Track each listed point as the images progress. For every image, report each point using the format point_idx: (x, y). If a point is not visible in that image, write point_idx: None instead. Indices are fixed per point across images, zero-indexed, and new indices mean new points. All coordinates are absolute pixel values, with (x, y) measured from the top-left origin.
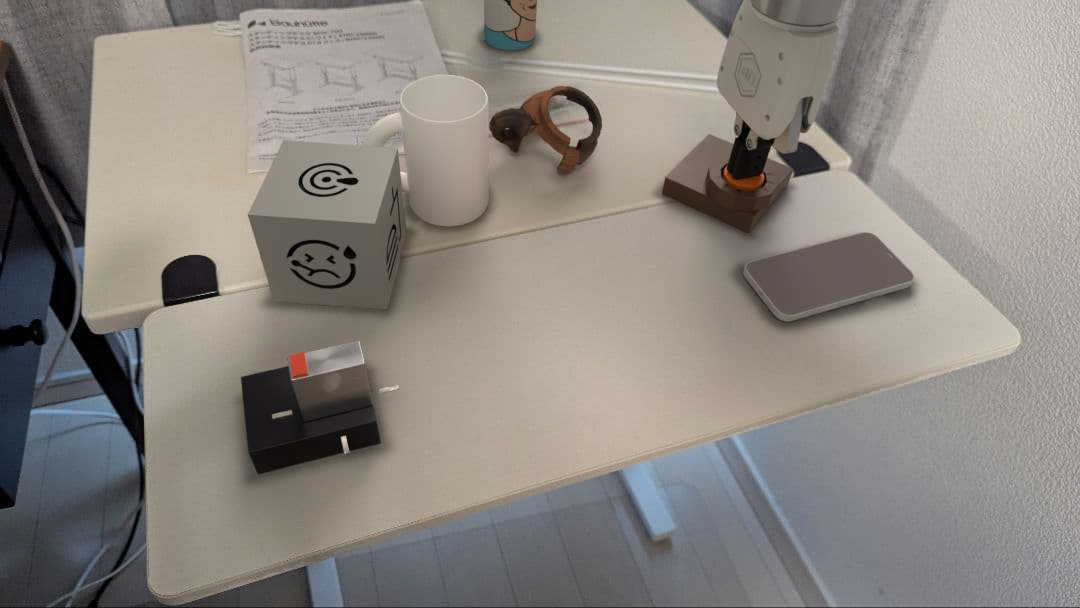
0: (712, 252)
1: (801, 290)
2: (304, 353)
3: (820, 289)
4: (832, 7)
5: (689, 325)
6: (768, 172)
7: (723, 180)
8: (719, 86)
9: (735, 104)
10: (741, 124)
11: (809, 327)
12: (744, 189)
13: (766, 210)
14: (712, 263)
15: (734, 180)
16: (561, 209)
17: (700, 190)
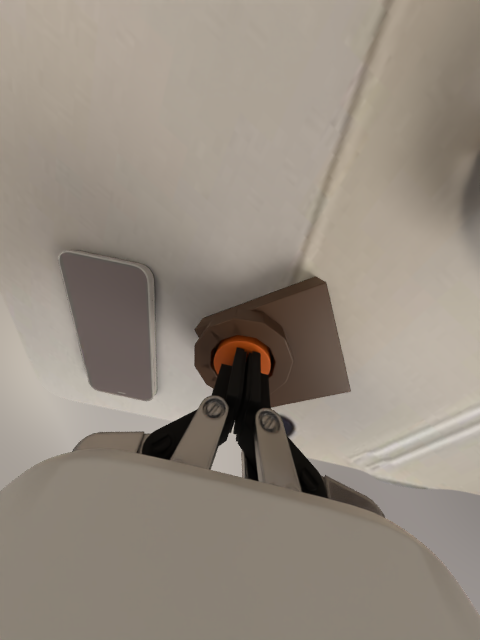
0: (192, 259)
1: (93, 297)
2: None
3: (91, 315)
4: None
5: (77, 121)
6: None
7: (247, 335)
8: (418, 565)
9: (268, 530)
10: (259, 440)
11: None
12: (219, 346)
13: None
14: (175, 245)
15: (236, 346)
16: (418, 54)
17: (270, 307)
